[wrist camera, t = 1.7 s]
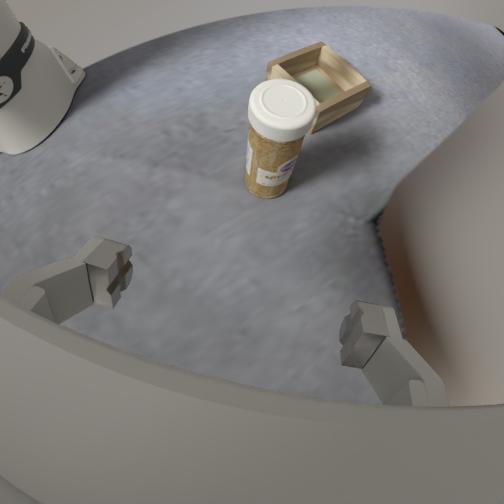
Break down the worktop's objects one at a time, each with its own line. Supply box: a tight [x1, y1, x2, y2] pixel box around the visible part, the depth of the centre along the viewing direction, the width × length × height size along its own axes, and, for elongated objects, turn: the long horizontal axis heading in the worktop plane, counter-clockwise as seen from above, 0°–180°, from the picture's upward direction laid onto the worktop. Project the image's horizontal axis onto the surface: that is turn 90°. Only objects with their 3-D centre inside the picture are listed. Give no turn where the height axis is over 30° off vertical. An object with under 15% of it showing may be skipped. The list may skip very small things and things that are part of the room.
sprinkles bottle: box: [245, 79, 316, 199], centre depth 25 cm, size 5×5×14 cm
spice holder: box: [265, 42, 372, 134], centre depth 32 cm, size 9×9×4 cm
